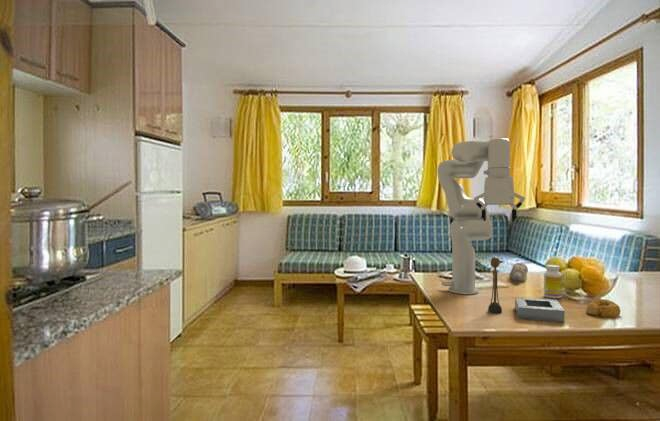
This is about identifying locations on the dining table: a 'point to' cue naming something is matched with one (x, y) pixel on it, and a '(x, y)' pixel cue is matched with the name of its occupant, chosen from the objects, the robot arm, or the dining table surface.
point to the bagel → (603, 308)
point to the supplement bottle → (553, 282)
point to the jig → (539, 309)
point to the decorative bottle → (519, 272)
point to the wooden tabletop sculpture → (495, 288)
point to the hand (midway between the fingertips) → (498, 220)
